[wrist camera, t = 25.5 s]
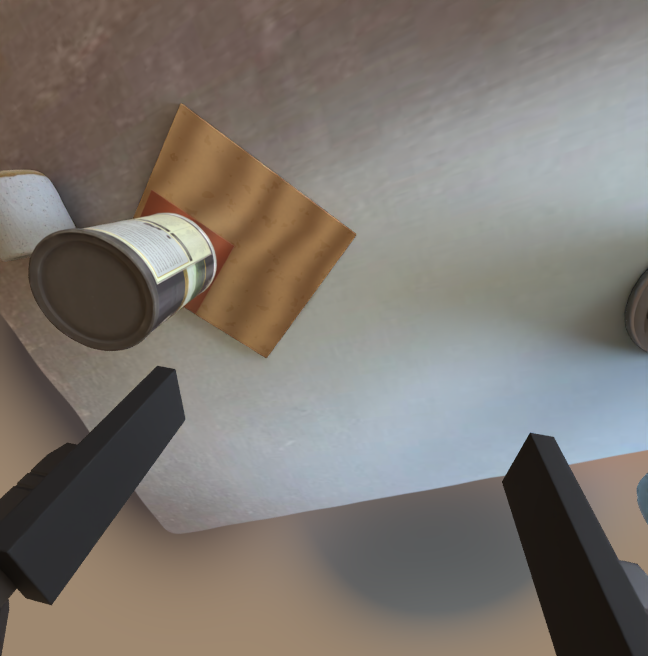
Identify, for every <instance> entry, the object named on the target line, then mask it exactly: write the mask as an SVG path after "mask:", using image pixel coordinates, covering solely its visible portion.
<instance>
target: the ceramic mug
mask: <svg viewBox="0 0 648 656" xmlns="http://www.w3.org/2000/svg"><path fill="white" fill-rule="evenodd" d="M74 228H76V227H75V225H74V223H73V221H72V219H71V217H70V215H69V214H68V212H67V210H66V208H65V206H64V204H63V203H62V201H61V198H60V196H59V194H58V192H57V191H56V189H55V187H54V186H53V184H52V183H51V181H50V180H49V179H48V178H47V177H46V176H45V175H44V174H42V173H40V172H38V171H34V170H4V171H0V259H1V260H2V261H13V260H18V259H22V258H27V257H31V255H32V253H33V250H34V249H35V247H36V245H37V244H38V243H39V242H40V241H41V240H42V239H43V238H45V237H46V236H48V235H50V234H51V233H54V232H56V231H60V230H65V229H74Z"/></svg>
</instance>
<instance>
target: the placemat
mask: <svg viewBox="0 0 648 656" xmlns="http://www.w3.org/2000/svg"><path fill="white" fill-rule="evenodd" d="M157 213H175V214H178V215H181V216H184V217H186V218H188V219H190V220H191V221H193V222H194V223H195V224H197V225H198V226H199V227H200V228H201V229H202V230H203V231H204V232H205V234H206V235H207V236H208V238H209V239H210V241H211V243H212V245H213V248H214V251H215V255H216V264H217V266H216V273H215V276H214V279H213V281H212V283H211V284H210V286H209V287H208V288H207V289H206V290H205V291H204V292H202V293H201V294H199V295H197V296H196V297H195V298H194V299H192V300H191V301H190V302H188V303H187V304H186V305H185V306H183V307H185V308H186V309H188V310H189V311H191V312H193V313H194V314H196V315H197V316H199V317H201V318H202V319H204V320H206V321H207V322H209V323H210V324H212V325H214V326H215V327H217V328H218V329H220V330H222V331H223V332H225V333H226V334H228V335H230V336H231V337H233V338H234V339H236V340H238V341H239V342H241V343H243V344H244V345H246V346H247V347H249V348H251V349H252V350H254V351H255V352H257V353H259V354H260V355H262V356H263V357H265V358H267V357H268V356H269V354H270V353H271V352H272V350H273V349H274V347H275V346H276V345H277V343H278V342H279V341H280V339H281V338H282V336H283V335H284V334H285V332H286V331H287V330H288V328H289V327H290V325H291V324H292V323H293V321H294V320H295V319H296V317H297V316H298V314H299V313H300V312H301V310H302V309H303V308H304V306H305V305H306V304H307V302H308V301H309V299H310V298H311V297H312V295H313V294H314V293H315V291H316V290H317V288H318V287H319V286H320V284H321V283H322V282H323V280H324V279H325V277H326V276H327V275H328V273H329V272H330V271H331V269H332V268H333V266H334V265H335V264H336V262H337V261H338V260H339V258H340V257H341V256H342V254H343V253H344V251H345V250H346V249H347V247H348V246H349V245H350V243H351V242H352V240H353V239H354V238H355V236H356V233H355V232H353V231H352V230H351V229H349V228H348V227H347V226H345V225H344V224H343V223H341V222H340V221H338V220H337V219H336V218H334V217H333V216H332V215H330V214H329V213H328V212H326V211H325V210H324V209H322V208H321V207H320V206H318V205H317V204H316V203H314V202H313V201H312V200H310V199H309V198H308V197H306V196H305V195H304V194H302V193H301V192H300V191H298V190H297V189H296V188H294V187H293V186H292V185H290V184H289V183H288V182H286V181H285V180H284V179H282V178H281V177H280V176H278V175H277V174H276V173H274V172H273V171H272V170H270V169H269V168H268V167H266V166H265V165H264V164H262V163H261V162H260V161H258V160H257V159H256V158H254V157H253V156H252V155H250V154H249V153H248V152H246V151H245V150H244V149H242V148H241V147H240V146H238V145H237V144H236V143H234V142H233V141H232V140H230V139H229V138H228V137H226V136H225V135H223V134H222V133H221V132H219V131H218V130H217V129H215V128H214V127H213V126H211V125H210V124H209V123H207V122H206V121H205V120H203V119H202V118H201V117H199V116H198V115H197V114H195V113H194V112H193V111H191V110H190V109H189V108H187V107H186V106H185V105H183V104H180V106H179V109H178V111H177V114H176V116H175V118H174V121H173V123H172V126H171V128H170V130H169V133H168V135H167V138H166V140H165V142H164V145H163V147H162V150H161V152H160V154H159V157H158V159H157V162H156V164H155V167H154V169H153V171H152V174H151V176H150V179H149V181H148V183H147V186H146V188H145V191H144V193H143V195H142V198H141V200H140V203H139V205H138V207H137V210H136V212H135V215H134V217H133V219H135V218H141V217H146V216H151V215H154V214H157Z"/></svg>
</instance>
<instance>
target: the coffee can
mask: <svg viewBox="0 0 648 656" xmlns="http://www.w3.org/2000/svg"><path fill="white" fill-rule="evenodd" d="M216 266H217V264H216V255H215V251H214V248H213V245H212V243H211V241H210V239H209V238H208V236H207V235H206V234H205V232H204V231H203V230H202V229H201V228H200V227H199V226H198V225H197V224H195V223H194V222H193V221H191V220H190V219H188V218H186V217H184V216H181V215H178V214H175V213H157V214H154V215H151V216H146V217H141V218H135V219H130V220H124V221H119V222H114V223H109V224H103V225H98V226H93V227H87V228H82V229H78V228H74V229H65V230H60V231H56V232H54V233H51V234H50V235H48V236H46V237H45V238H43V239H42V240H41V241H40V242H39V243H38V244H37V245H36V247H35V249H34V250H33V253H32V255H31V257H30V262H29V283H30V287H31V290H32V293H33V296H34V298H35V300H36V302H37V304H38V306H39V307H40V309H41V310H42V312H43V313H44V315H45V316H46V317H47V318H48V320H49V321H50V322H51V323H52V324H53V325H54V326H55V327H56V328H57V329H58V330H60V331H61V332H62V333H63V334H65V335H67V336H68V337H70V338H71V339H73V340H75V341H77V342H78V343H81V344H83V345H85V346H88V347H90V348H94V349H98V350H104V351H118V350H124V349H128V348H131V347H133V346H135V345H137V344H139V343H140V342H141V341H143V340H144V339H145V338H146V337H147V336H148V335H149V334H150V333H151V332H152V331H153V330H154V329H155V328H157V327H158V326H159V325H160V324H162V323H163V322H164V321H166V320H167V319H168V318H170V317H171V316H172V315H173V314H174V313H176V312H177V311H178V310H179V309H181V308H182V307H183V306H185V305H186V304H187V303H188V302H190V301H191V300H192V299H194V298H195V297H196V296H197V295H199V294H201V293H202V292H204V291H205V290H206V289H207V288H208V287H209V286H210V284H211V283H212V281H213V279H214V276H215V273H216Z"/></svg>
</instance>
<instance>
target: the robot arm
mask: <svg viewBox="0 0 648 656" xmlns="http://www.w3.org/2000/svg"><path fill="white" fill-rule="evenodd" d="M625 323H626V328H627V331H628V334H629V335H630V337H631V339H632V340H633V341H634V343H635V344H637V345H638V346H639V347H640V348H642V349H643V350H645V351H647V352H648V269H647V270H646V272H645V273H644V274H643V275H642V276H641V278H640V279H639V281H638V282H637V283H636V285H635V287H634V288H633V290H632V292H631V294H630V297H629V300H628V302H627V306H626V312H625ZM184 421H185V415H184V410H183V405H182V400H181V395H180V390H179V385H178V380H177V375H176V370H175V369H172V368H166V367H160V366H157V367H156V368H155V369H154V370H153V371H152V372H151V373H150V374H149V375H148V376H147V377H145V378H144V379H143V380H142V381H141V382H140V383H139V384H138V385H137V386H136V387H135V388H134V389H133V390H132V391H131V392H130V393H129V394H128V395H127V396H126V397H125V398H124V399H123V400H122V401H121V402H120V403H119V404H118V405H117V406H116V407H115V408H114V409H113V410H112V411H111V412H110V413H109V414H108V415H107V416H106V417H105V418H104V419H103V420H102V421H101V422H100V423H99V424H98V425H97V426H96V427H95V428H94V429H93V430H92V431H91V432H90V433H89V434H88V435H87V436H86V437H85V438H84V439H83V440H82V441H81V442H80V443H79V444H78V445H76V444H71V443H66V444H64V445H63V446H61V447H59V448H58V449H56V450H54V451H53V452H51V453H49V454H48V455H47V456H46V457H45V458H44V459H42V460H41V461H40V462H39V463H38V464H37V465H36V466H35V467H34V468H33V469H32V470H31V472H30V473H27V474H26V475H25V476H24V477H23V478H22V479H21V480H20V481H19V482H18V483H17V485H16V486H13V488H11V489H10V490H9V491H8V492H7V493H6V494H5V495H4V496H3V497H2V498H1V499H0V656H1V655H2V649H3V643H4V637H5V631H6V625H7V619H8V613H9V600H8V598H9V597H10V596H11V595H12V594H13V592H14V591H15V590H16V589H18V590H19V591H20V592H21V593H22V595H24V597H25V598H27V599H31V600H34V601H38V602H42V603H45V604H49V605H52V604H53V602H54V601H55V600H56V598H57V597H58V595H59V594H60V593H61V591H62V590H63V589H64V587H65V586H66V584H67V583H68V582H69V580H70V579H71V578H72V576H73V575H74V573H75V572H76V571H77V569H78V568H79V566H80V565H81V564H82V562H83V561H84V559H85V558H86V557H87V555H88V554H89V552H90V551H91V550H92V548H93V547H94V545H95V544H96V543H97V541H98V540H99V539H100V537H101V536H102V535H103V533H104V532H105V530H106V529H107V527H108V526H109V525H110V523H111V522H112V521H113V519H114V518H115V516H116V515H117V514H118V512H119V511H120V510H121V508H122V507H123V505H124V504H125V503H126V501H127V500H128V498H129V497H130V496H131V494H132V493H133V492H134V490H135V489H136V487H137V486H138V485H139V483H140V482H141V480H142V479H143V478H144V476H145V475H146V474H147V472H148V471H149V469H150V468H151V467H152V465H153V464H154V462H155V461H156V460H157V458H158V457H159V456H160V454H161V453H162V451H163V450H164V449H165V447H166V446H167V444H168V443H169V442H170V440H171V439H172V437H173V436H174V435H175V433H176V432H177V431H178V429H179V428H180V426H181V425H182V424H183V422H184ZM502 483H503V486H504V490H505V493H506V496H507V499H508V502H509V506H510V509H511V512H512V515H513V518H514V521H515V525H516V528H517V531H518V534H519V537H520V541H521V544H522V547H523V550H524V553H525V556H526V559H527V563H528V566H529V569H530V572H531V575H532V579H533V582H534V585H535V588H536V592H537V595H538V598H539V601H540V604H541V607H542V611H543V614H544V617H545V620H546V623H547V626H548V629H549V633H550V636H551V639H552V642H553V646H554V649H555V652H556V655H557V656H648V575H647V574H646V573H645V572H644V571H643V570H642V569H641V568H640V567H639V565H638V564H635V563H631V562H626V561H621V560H619V559H618V558H617V556H616V554H615V552H614V550H613V548H612V546H611V544H610V542H609V540H608V539H607V537H606V535H605V533H604V531H603V529H602V527H601V525H600V523H599V522H598V520H597V518H596V516H595V514H594V512H593V510H592V508H591V506H590V505H589V503H588V501H587V499H586V497H585V495H584V493H583V491H582V490H581V488H580V486H579V484H578V482H577V480H576V478H575V476H574V474H573V472H572V471H571V469H570V467H569V465H568V463H567V461H566V459H565V457H564V456H563V454H562V452H561V450H560V448H559V446H558V444H557V442H556V440H555V439H554V437H551V436H545V435H540V434H534V433H530V434H529V436H528V437H527V439H526V441H525V443H524V444H523V446H522V448H521V450H520V451H519V453H518V455H517V456H516V458H515V460H514V462H513V463H512V465H511V467H510V469H509V470H508V472H507V474H506V476H505V477H504V479H503V481H502ZM637 496H638V499H637V501H638V505H639V508H640V511H641V513H642V515H643V517H644V519H645V521H646V523H647V524H648V473H647V474H646V475H645V476H644V477H643V478H642V479H641V480H640V482H639V484H638V486H637Z"/></svg>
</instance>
